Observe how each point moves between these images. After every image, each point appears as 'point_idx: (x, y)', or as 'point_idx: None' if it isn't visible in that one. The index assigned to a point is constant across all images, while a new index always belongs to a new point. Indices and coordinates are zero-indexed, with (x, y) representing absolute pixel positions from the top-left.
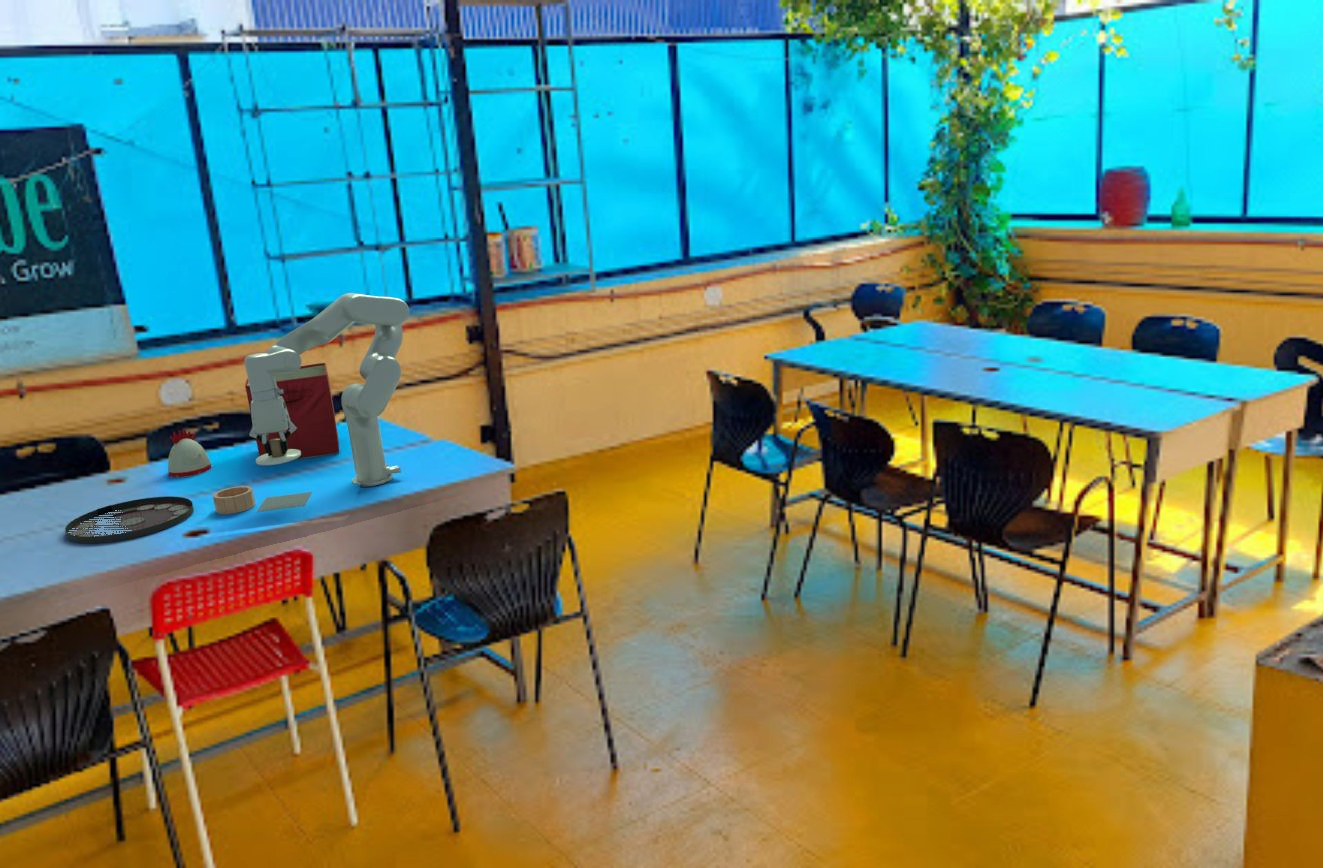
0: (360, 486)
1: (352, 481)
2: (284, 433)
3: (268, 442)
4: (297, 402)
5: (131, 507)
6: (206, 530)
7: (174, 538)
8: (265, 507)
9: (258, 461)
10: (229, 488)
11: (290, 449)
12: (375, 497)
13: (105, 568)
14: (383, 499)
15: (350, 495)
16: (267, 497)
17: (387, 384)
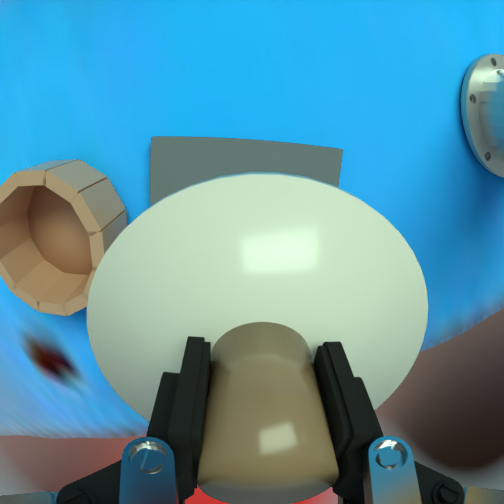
0: (478, 160)
1: (468, 115)
2: (398, 501)
3: (193, 469)
4: None
5: None
6: (63, 355)
7: (22, 366)
8: None
9: (137, 407)
10: (10, 185)
11: (365, 216)
12: (483, 282)
13: (9, 426)
14: (487, 306)
15: (445, 230)
16: (156, 138)
17: None
